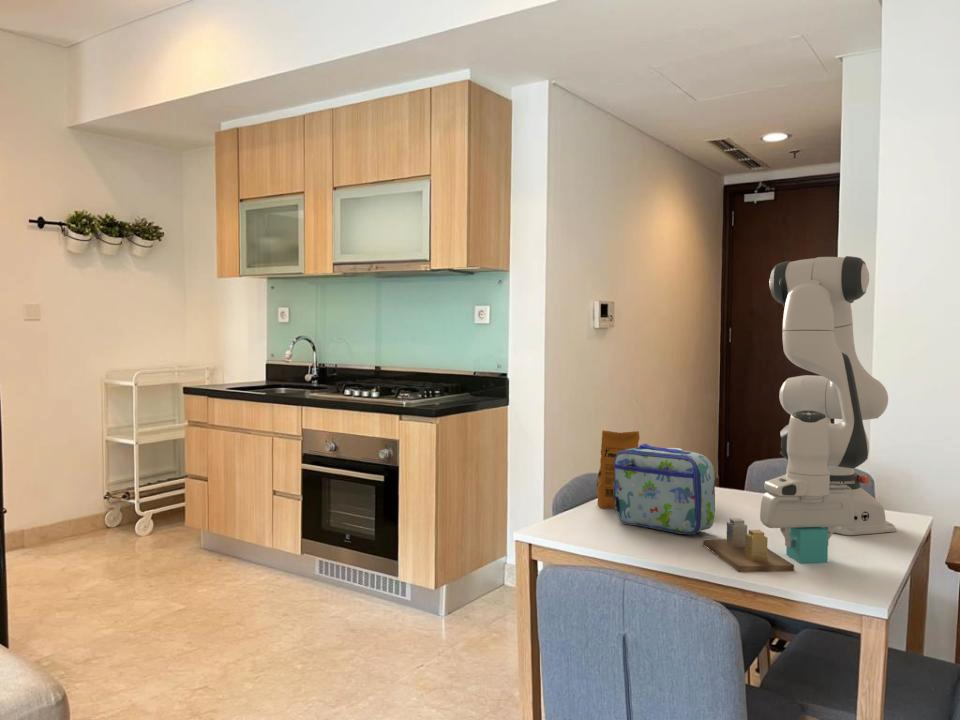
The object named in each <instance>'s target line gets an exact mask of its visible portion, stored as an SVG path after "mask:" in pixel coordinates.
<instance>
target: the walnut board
mask: <svg viewBox="0 0 960 720" xmlns="http://www.w3.org/2000/svg"><path fill="white" fill-rule="evenodd" d="M702 541H703V543H702V545H703V544H704V545H705V546H706V548H707V547H708V548H709V549H710V550H709V549H708V548H707V549H708V550H709V551H710V552H712V551H713V552H714V553H713V552H712V553H713V554H715V555H716V556H717V555H718V556H719V558H720V559H721V560H722V561H724V563H726V564H728V565H729V566H730V567H731V568H732V569H734V570H735V571H737V572H738V573H750V572H751V573H754V572H755V573H756V572H757V573H759V572H789V571H790V572H793V571H795V564H793V563H791V562H790V561H788V560H786V559H785V558H783V557H782V556H781V555H779V554H777V553H776V552H774V551H772V549H769V547H767V561H751V560H750V559H748V558H747V557H745V547H738V548H732V547H731V546H730V545H728V544H727V538H724V539H723V538H720V539H703V540H702ZM704 545H703V546H704ZM705 546H704V547H705ZM718 556H717V557H718Z"/></svg>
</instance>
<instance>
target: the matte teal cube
mask: <svg viewBox="0 0 960 720" xmlns="http://www.w3.org/2000/svg"><path fill="white" fill-rule="evenodd" d="M788 533H789V535H790V537H791V538H793V539H795V547H787V546H786V545H785V547H786V548H785V549H786V554H785V555H786V556H788V557H789V558H791V559H793V560H795V561H796V562H798V563H799V564H810V563H811V564H815V563H822V564H823V563H828V560H829V559H828V558H829V557H828V547H829V540H828V530H826V529H824V528H822V527H802V528H791V532H788Z"/></svg>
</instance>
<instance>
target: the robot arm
mask: <svg viewBox="0 0 960 720" xmlns="http://www.w3.org/2000/svg"><path fill="white" fill-rule="evenodd" d="M768 283H769V284H768V285H769V290H770V294H771V296H772V298H773V299H774V300H775V301H776V302H777V303H778V304H780V305H782V307H783V308H784V310H783V316H782V317H783V318H782V330H781V331H782V333H781V334H782V346H783V353H784V355H785V357H786V358H787V359H788V361H790V362H791V363H792V364H794V365H795V366H797V367H799V368H800V369H803V370H806V371H808V372H811V373H814V374H816V375H808V374H806V375H799V376H798V375H797V376H792V377H788V378H787V379H785V381H784V382H782V384H781V387H780V388H779V396H778V398H779V402H780V405H781V406H782V408H783V410H784V411H785V412H786V413H787V414H788V415H790V418H789V422H788V424H787V425H785V426H784V427H783V428H782V429H781V430H780V431H779V433H780V438H781V439H780V452H779V454H780V455H781V456H782V457H783V458H785V459H786V460H787V461H788V462H787V466H786V469H785V470H786V473H785V474H783V475H780V476H777V477H775V478H771V479H769V480H766V481H764V486H763V487H764V490H765V491H767V492H765V493H764V494H763V495H762V498H761V502H760V510H759V511H760V512H759V517H760V518H759V519H760V522H761V523H762V525H764V526H765V527H767V528H768V529H780V532H781V535H783V537H784V545H785V547H786V546H787V547H795V539H793V538H791V537H790V535H789V533H788V532H791V528H802V527H822V528H824V529H826V530H828V541H829V540H830V538H831V537H832V535H833V534H836V533H837V534H839V535H840V534H841V535H844V536H858V535H867V534H868V535H870V534H871V535H872V534H880V533H881V534H882V533H891V532H893V533H894V532H896V531H897V530H896V526H895V524H893V523H891V522H889V521H887V520H886V512H885V509H884V506H883V504H882V503H881V502H880V501H879V500H877V499H876V498H874V497H873V496H872V495H871V494H869V493H868V492H867V491H866V490H864V489H863V488H862V487H861V484H863V485H868V484H869V483H870V481H871V480H870V478H869V476H866V475H862V474H860V475H859V474H857V473H856V472H855V468H857V467H859V466H861V465H862V464H863V463H865V462H866V461H867V460H868V458H869V453H870V442H869V439H868V435H867V433H866V430H865V425H864V422H863V421H867V420H875V419H879V418H880V417H881V416H882V415H883V414H884V413H885V411H886V410H887V408H888V404H889V394H888V392H887V389H886V387H885V386H884V384H883V383H882V382H881V381H880V380H878V379H876V378H875V377H873V376H872V375H871V374H870V373H869V372H868V371H867V370H866V369H865V368H864V366H863V365H862V363H861V361H860V359H859V357H858V355H857V352H856V347H855V339H854V324H853V323H854V322H853V321H854V320H853V311H852V310H853V309H852V303H855V302H854V301H857V300H859V299H861V297H863V296H864V295H865V294H867V293H866V292H867V288H868V286H869V284H870V272H869V268H868V266H867V263H866V262H865V261H864V260H863V259H862V258H861V257H857V256H849V255H846V256H844V257H843V256H842V257H841V256H818V257H815V258H807V259H806V258H805V259H798V260H794V261H791V260H786V261H782V262H779V263H777V264H775V266H774V267H773V268H772V270H771V272H770V276H769V282H768ZM832 419H835V420H842V421H841V422H840V423H832V422H831V420H832Z"/></svg>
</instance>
